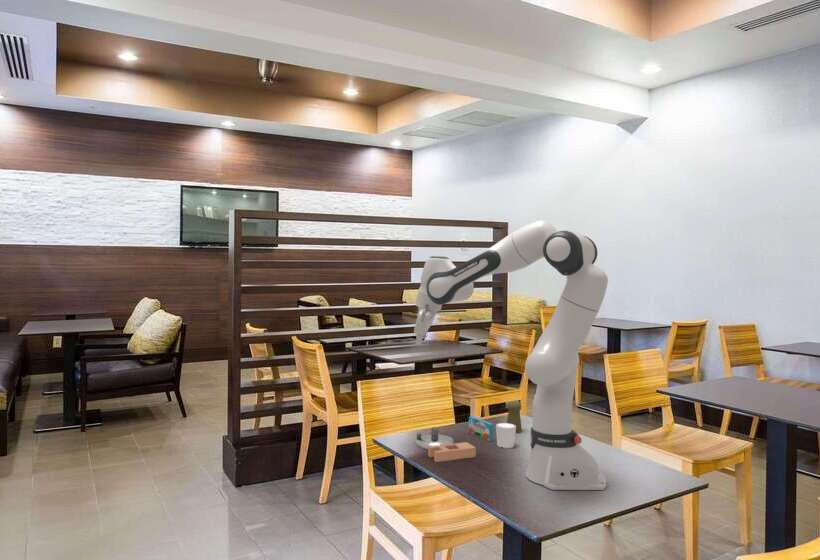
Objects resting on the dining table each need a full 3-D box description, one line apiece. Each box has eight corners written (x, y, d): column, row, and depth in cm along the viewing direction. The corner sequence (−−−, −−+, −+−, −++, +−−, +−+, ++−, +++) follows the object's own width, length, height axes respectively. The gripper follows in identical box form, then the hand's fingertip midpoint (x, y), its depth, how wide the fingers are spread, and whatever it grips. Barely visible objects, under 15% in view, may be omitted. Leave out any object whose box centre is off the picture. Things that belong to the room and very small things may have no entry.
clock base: (455, 439, 197) (455, 424, 197) (451, 451, 185) (452, 435, 185) (418, 437, 200) (419, 422, 200) (412, 449, 187) (413, 432, 187)
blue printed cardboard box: (492, 441, 197) (492, 423, 197) (489, 441, 196) (489, 424, 196) (471, 432, 207) (471, 415, 207) (468, 432, 206) (468, 416, 206)
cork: (523, 433, 206) (523, 403, 206) (506, 433, 206) (507, 403, 206) (520, 428, 212) (520, 399, 212) (504, 428, 212) (504, 399, 212)
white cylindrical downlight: (511, 450, 187) (511, 429, 187) (492, 446, 191) (492, 426, 191) (518, 444, 193) (519, 424, 193) (500, 441, 197) (500, 421, 197)
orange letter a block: (466, 451, 186) (467, 442, 185) (475, 456, 180) (475, 447, 180) (428, 455, 180) (428, 446, 180) (436, 462, 175) (436, 452, 175)
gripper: (433, 310, 177) (424, 351, 180) (441, 299, 197) (433, 336, 200) (414, 306, 178) (405, 346, 181) (424, 295, 198) (416, 332, 201)
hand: (420, 341), depth 191 cm, fingers open, 8 cm apart
